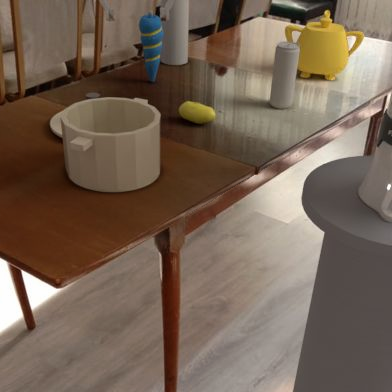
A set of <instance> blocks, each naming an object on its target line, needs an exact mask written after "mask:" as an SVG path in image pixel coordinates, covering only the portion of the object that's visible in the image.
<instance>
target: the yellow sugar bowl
mask: <svg viewBox="0 0 392 392" xmlns="http://www.w3.org/2000/svg"><path fill="white" fill-rule="evenodd" d="M330 17H331V11H330V10H329V9H327V10H325V11H324V12H323V17H321V18H320V20H319V21H310V22H308V23H306V25H305V26H304V27H301V26H297V25H294V24H288V25H286V26H285V28H284V37H285V39H286V41H289V42H294V40H293V32H299V33H300V34H299V35H298V38H297V40H296V42H295V43H297V44H299V45H300V47H299V49H300V52H299V59H298V66H297V71H298V70H299V72H301V73H300V74H299V76H300V77H301V78H304V79H309V78H311V76H312V74H315V75H324V79H325V80H326V81H335V80H336V78H335V75H339V74H341V73H342V72H343V71H344V69H345V68H346V67H347V65H348V63H349V57H351V55H353V54H354V52H356V50H358V48H359V47H360V46H361V45H362V43H363V41H364V39H365V33H364V32H363V31H359V30H352V31H346V30H345V27H344V25H342V24H339V23H334V22H333V19H332V18H330ZM348 37H355V40H354V43H353V45H352V46H351V48H350V49H349V41H348Z"/></svg>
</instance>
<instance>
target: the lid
mask: <svg viewBox="0 0 392 392" xmlns="http://www.w3.org/2000/svg"><path fill="white" fill-rule="evenodd" d="M96 98H101V94H100V93H98V92H88V93H86V94H85V100H88V99H96ZM62 113H63V110H61V111H59V112H57V113H56V114H54V115H53V116H51V119H50V121H49V128H50V130H51V131H52V133H53V134H54V135H56V136H57V137H59V138H62V139H63V137H62V128H61V119H60V117H61V115H62Z"/></svg>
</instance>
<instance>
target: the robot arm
mask: <svg viewBox="0 0 392 392" xmlns="http://www.w3.org/2000/svg"><path fill="white" fill-rule="evenodd" d="M98 1H99V3H100V4H101V6H102V8H103V9H104V11H105V21H106V22H115V8H114V7H110V6H109V4H108V3H107V1H106V0H98ZM174 1H175V0H168V1H167V3H166V5H165V8H161V7H159V18H160V20H161V21H169V10H170V9H171V7H172V5H173V3H174ZM373 156H374V157H373V160H372V162H371V165H370V167H369V169H368V172H367V174H366V176H365V178H364V180H363V181H362V183H361V185H360V186H359V188H358V195H359V197H360V198H361V200H362V201H363V202H364V203H365V204H367V205H368V206H369V207H371V208H373V209H374V210H376V211H377V212H378V213H379V214H380V216H381V217H382V218H383V219H384V220H385V221H387V222H391V223H392V91H391V93H390V96H389V101H388V105H387V108H385V110H384V112H383V114H382V116H381V119H380V123H379V127H378V131H377V136H376V149H375V152H374V154H373Z"/></svg>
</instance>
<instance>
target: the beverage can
mask: <svg viewBox="0 0 392 392" xmlns="http://www.w3.org/2000/svg"><path fill="white" fill-rule="evenodd" d="M299 47H300V45H299V44H297V43H296V42H294V41H293V42H289V41H287V40H285V41H283V40H282V41H278V42H277V43H276V46H275V50H274V58H273V59H274V60H273V67H272V76H271V84H270V85H271V87H270V95H269V104H270V105H271V107H273V108H275V109H279V110H287V109H289V108H290V107H292V105H293V101H294V93H295V86H296V78H297V71H298V69H297V66H298V59H299V52H300V49H299Z"/></svg>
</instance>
